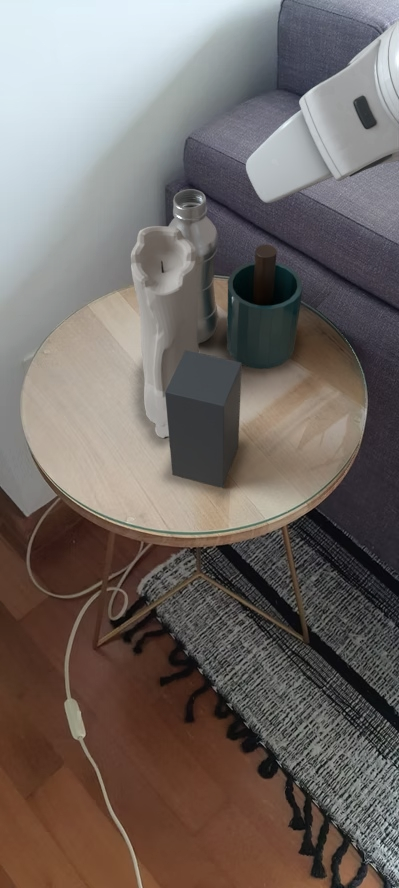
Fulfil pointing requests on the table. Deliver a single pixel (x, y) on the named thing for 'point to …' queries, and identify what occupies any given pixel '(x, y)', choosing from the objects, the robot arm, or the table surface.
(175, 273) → the candle
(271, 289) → the rod with orange collar
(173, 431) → the stand
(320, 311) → the table surface
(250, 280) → the teal cup
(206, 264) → the silver metal bottle
